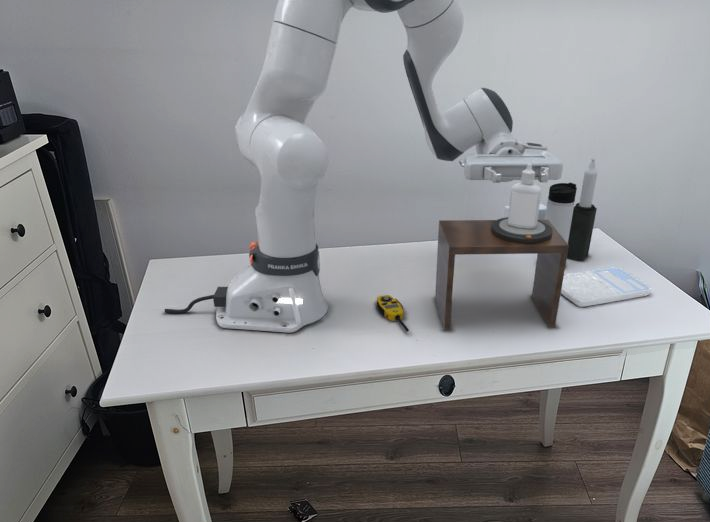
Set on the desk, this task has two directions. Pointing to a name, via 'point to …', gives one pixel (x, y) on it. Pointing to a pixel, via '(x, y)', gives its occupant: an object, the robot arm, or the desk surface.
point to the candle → (583, 218)
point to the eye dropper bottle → (525, 201)
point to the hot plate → (521, 232)
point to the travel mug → (561, 207)
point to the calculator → (602, 286)
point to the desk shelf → (480, 240)
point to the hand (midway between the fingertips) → (521, 178)
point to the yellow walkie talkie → (391, 309)
